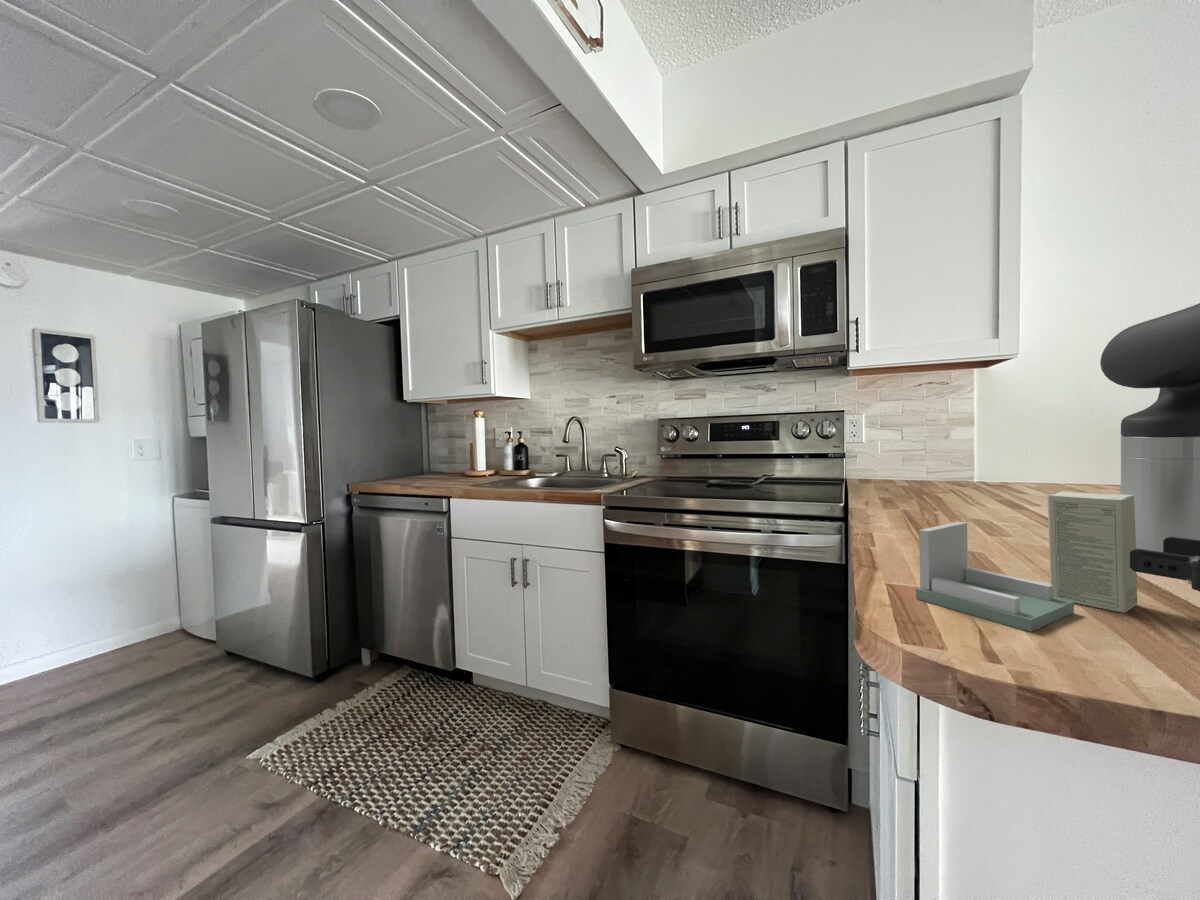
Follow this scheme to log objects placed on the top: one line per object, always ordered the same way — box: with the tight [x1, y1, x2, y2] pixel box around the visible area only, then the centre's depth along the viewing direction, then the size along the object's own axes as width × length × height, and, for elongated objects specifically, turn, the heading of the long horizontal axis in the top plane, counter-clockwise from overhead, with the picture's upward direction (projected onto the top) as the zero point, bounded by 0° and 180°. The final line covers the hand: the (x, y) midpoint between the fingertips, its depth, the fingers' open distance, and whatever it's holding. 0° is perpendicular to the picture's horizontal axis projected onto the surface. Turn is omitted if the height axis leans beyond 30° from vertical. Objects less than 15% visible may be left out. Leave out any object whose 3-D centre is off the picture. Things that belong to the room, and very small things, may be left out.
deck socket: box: [915, 521, 1075, 633], centre depth 54 cm, size 9×11×8 cm
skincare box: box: [1046, 490, 1138, 614], centre depth 54 cm, size 6×4×12 cm
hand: (1148, 552), depth 50 cm, fingers open, 8 cm apart
